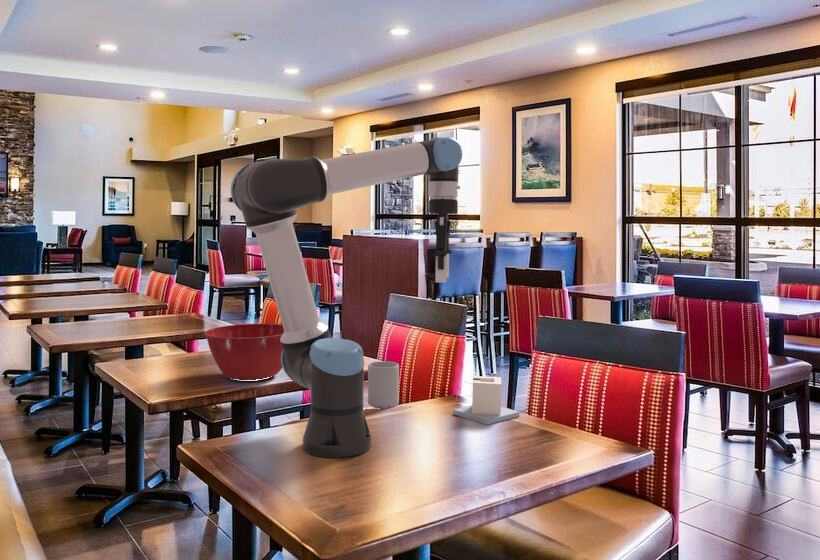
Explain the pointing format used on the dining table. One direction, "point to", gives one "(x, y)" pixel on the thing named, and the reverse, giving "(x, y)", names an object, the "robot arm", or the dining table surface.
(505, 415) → the plate
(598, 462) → the dining table surface
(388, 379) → the mug
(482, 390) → the cube with square hole
